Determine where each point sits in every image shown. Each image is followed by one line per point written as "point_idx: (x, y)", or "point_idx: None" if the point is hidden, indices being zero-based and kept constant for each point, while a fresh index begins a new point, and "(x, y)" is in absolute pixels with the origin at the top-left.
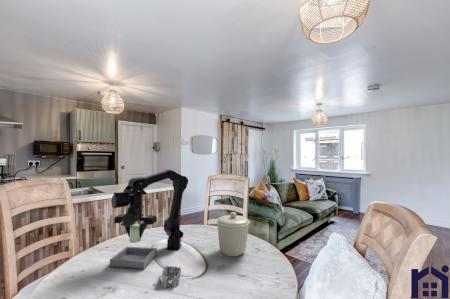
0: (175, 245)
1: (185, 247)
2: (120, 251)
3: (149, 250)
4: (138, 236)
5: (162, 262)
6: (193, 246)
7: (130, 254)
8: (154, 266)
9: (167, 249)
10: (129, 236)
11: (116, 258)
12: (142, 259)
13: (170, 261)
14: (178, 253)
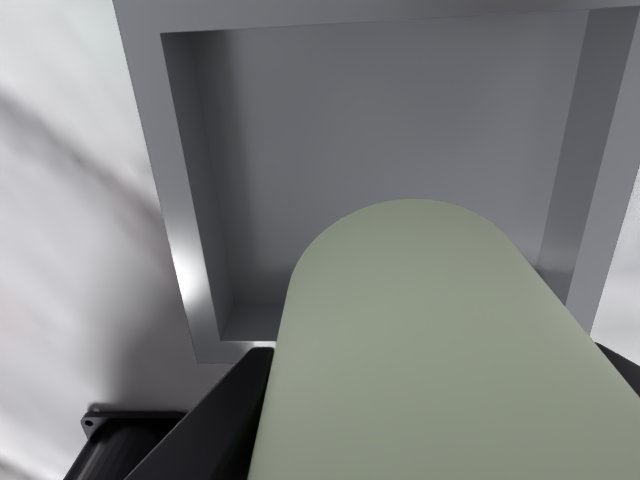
0: (98, 451)
1: (65, 456)
2: (616, 235)
3: (272, 330)
4: (282, 347)
5: (74, 196)
6: (16, 474)
7: None
8: (96, 101)
9: (181, 412)
10: None
11: (604, 78)
12: (289, 194)
13: (14, 227)
14: (50, 367)
